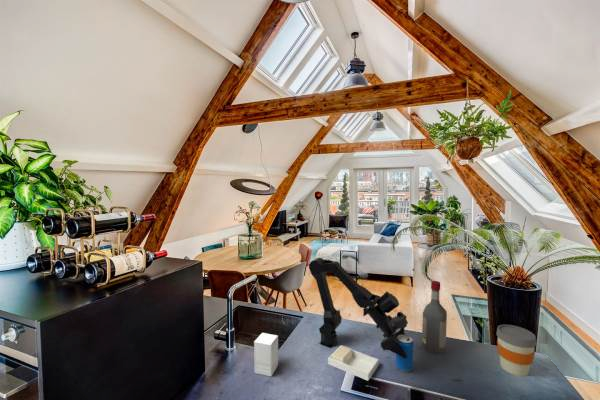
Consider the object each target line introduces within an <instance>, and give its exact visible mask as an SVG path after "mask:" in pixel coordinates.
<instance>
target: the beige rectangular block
mask: <svg viewBox="0 0 600 400" xmlns="http://www.w3.org/2000/svg"><path fill="white" fill-rule="evenodd" d="M340 346H341V347H340ZM340 346H339V347H340V348H339V347H338V348H339V349H338V348H337V349H338V350H337V349H336V350H337V351H336V350H335V351H336V352H335V351H334V352H335V353H334V352H333V353H334V354H333V353H332V354H333V355H332V354H331V355H332V359H335V360H337V361H340V362H342V363H345V364H347V363H348V362H349V361H350V359H351V358H352V350H353V349H352V348H350V347H348V346H345V345H340Z"/></svg>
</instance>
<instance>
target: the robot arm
mask: <svg viewBox="0 0 600 400" xmlns="http://www.w3.org/2000/svg"><path fill="white" fill-rule="evenodd" d="M308 270H309V272H310V274H311V276H312V277H313V278H314V279H315V281H316V284H317V289H318V292H319V296H320V297H319V298H320V300H321V303H322V304H321V305H322V307H323V324H322V325H321V326H320V327H319V328H318V330H319V333H320V342H319V343H318V344H319V345H321V346H324V347H326V348H329V349H332V348H334V347H335V346H337V344H338V343H339V342H338V335H337V331H336V330H337V329H338V327H339V326H340V325H341V323H342V319H343V317H342V315H341V310H340V309H338V310H337V309H336V307H335V305H334V302H333V299H332V298H333V297H332V294H331V291H330V286H329V283H328V279H327V272H330V273H333V274H334V276H335V277H336V278H337V279H338V280H339V281H340V282H341V283H342V284H343V285H344V286H345V288H347V289H348V291H349V292H350V293H351V296H352V299H353V300H354V301H355V303H356V305H357V306H358V307H359V308H363V309H362V311H363V314H362V315H363V317H366V316H367V315H368V316H369V317H370V318H371V319H372V320H373V322H374V323H375V324H376V326H375V328H377V330H378V329H380V331H381V332H382V333H383V334H382V336H383V338H382V340H381V342H380V347H381V349H382V350H383V351H384V352H385V351H390V352H391V353H393V354H395V355H396V354H398V355H399V356H401V357H403V358H407V356H406V354H405V352H404V351H403V349H402V348H401V346H400V345H399V339H398V340H397V337H398V335H406V333H405V328H407V326H408V324H409V322H408V320H407V316H406V314H404V313H403V312H402V311H397V313H396V315H395V316H394V317H392V316H391V315H390V314H389V313H391V312H392V311H393V310H394V309H396V308H397V307H399V306H400V302H399V300H398V298H397V297H396V296H395V295H394V294H392V293H390V292H389V291H385V292H384V293H383V294H382V295H381V296H380V295H377V294H374V293H372V292H371V291H370V290H369V289H367V288H366V287H365V286H362V285H360V284H359V283H358V282H357V281H356V280H355V279H354V278H353V277H352V276H351V275H350V274H349V273H348V272H347V270H346V269H345V268H344V267H342V265H341V263H340V262H339V261H337V260H334V261H333V260H331V259H324V258H322V257H317V258H315V259H313V260H310V262H309V264H308ZM387 314H388V315H387Z"/></svg>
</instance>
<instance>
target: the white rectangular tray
mask: <svg viewBox="0 0 600 400" xmlns="http://www.w3.org/2000/svg"><path fill="white" fill-rule="evenodd" d="M341 346H342V345H340V346H338V348H337V349H336V350H334V352H332V353H331V354H330V355H329V357H328V358H327V363H328V365H329V366H332V367H335V368H336V369H339V370H342V371H343V372H346V373H348V374H351V375H353V376H356V377H358V378H361V379H362V380H365V381H369V380H370V379H371V377H372V376H373V374H374V373H375V372H376V370H377V369H378V367H379V365H380V363H379V361H380V360H379V358H376V357H373V356H371V355H368V354H366V353H363V352H360V351H357V350H355V349H352V358H351V359H350V361H349V362H348V363H347V364H345V363H342V362H340V361H337V360H335V359H332V355H333V354H334V353H335V352H336V351H337V350H338V349H339V348H340V347H341Z"/></svg>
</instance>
